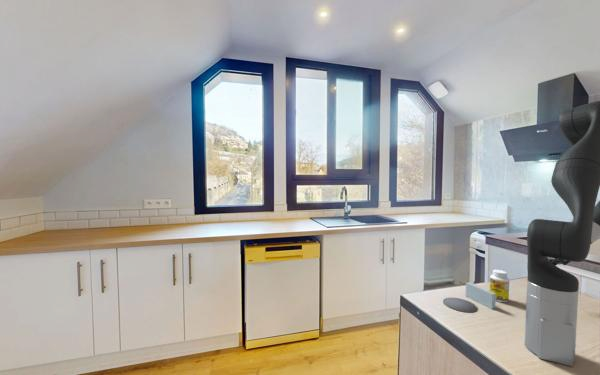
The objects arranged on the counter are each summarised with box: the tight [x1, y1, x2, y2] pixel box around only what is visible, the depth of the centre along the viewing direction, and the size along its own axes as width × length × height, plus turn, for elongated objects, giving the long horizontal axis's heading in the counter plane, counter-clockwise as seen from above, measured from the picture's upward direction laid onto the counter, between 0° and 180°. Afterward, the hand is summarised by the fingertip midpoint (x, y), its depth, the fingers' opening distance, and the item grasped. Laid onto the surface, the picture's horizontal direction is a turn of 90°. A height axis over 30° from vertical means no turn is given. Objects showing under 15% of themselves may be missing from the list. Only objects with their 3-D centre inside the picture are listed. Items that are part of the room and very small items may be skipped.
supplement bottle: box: [489, 269, 510, 303], centre depth 95 cm, size 6×6×10 cm
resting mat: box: [442, 297, 478, 313], centre depth 91 cm, size 10×10×1 cm
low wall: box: [465, 282, 496, 310], centre depth 93 cm, size 10×2×5 cm, turn 15°
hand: (536, 264), depth 92 cm, fingers open, 8 cm apart
